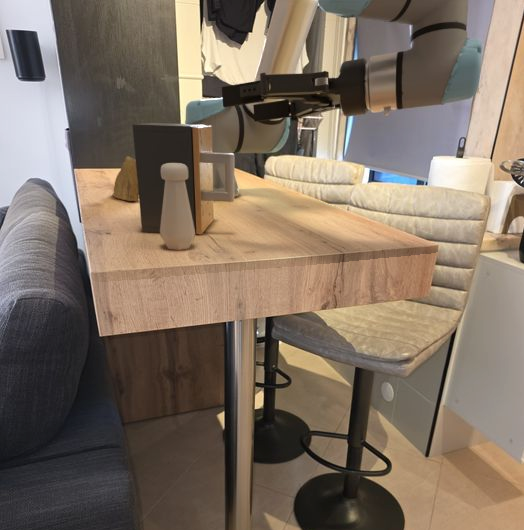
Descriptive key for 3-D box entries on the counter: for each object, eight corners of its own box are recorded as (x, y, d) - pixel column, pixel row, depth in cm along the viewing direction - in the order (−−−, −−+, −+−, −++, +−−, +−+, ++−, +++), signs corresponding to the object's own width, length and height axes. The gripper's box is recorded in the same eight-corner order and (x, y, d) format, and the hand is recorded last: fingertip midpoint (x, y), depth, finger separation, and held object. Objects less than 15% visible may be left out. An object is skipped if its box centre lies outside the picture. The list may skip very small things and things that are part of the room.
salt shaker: (165, 252, 73) (158, 165, 67) (157, 243, 77) (151, 161, 71) (200, 249, 75) (197, 165, 69) (190, 241, 80) (187, 161, 74)
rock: (148, 193, 110) (154, 181, 118) (122, 162, 105) (130, 152, 113) (116, 219, 113) (123, 206, 121) (89, 190, 108) (99, 179, 116)
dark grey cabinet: (207, 220, 95) (205, 124, 87) (195, 234, 84) (190, 126, 76) (161, 217, 96) (154, 122, 88) (142, 232, 84) (132, 124, 76)
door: (241, 220, 95) (241, 126, 87) (232, 235, 83) (232, 128, 75) (209, 219, 95) (206, 125, 87) (196, 233, 84) (192, 127, 76)
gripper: (355, 95, 59) (209, 117, 66) (377, 126, 81) (266, 139, 89) (355, 29, 57) (204, 59, 64) (377, 79, 79) (263, 97, 86)
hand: (239, 106), depth 76 cm, fingers open, 13 cm apart
